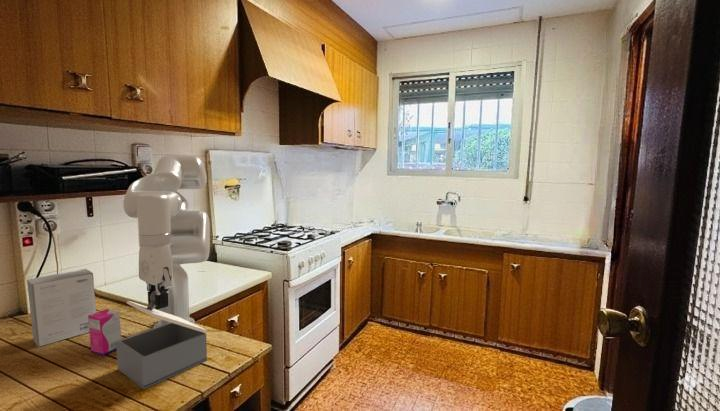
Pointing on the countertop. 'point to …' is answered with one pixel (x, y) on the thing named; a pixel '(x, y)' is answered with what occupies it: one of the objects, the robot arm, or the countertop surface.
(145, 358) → the grey storage box
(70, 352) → the countertop surface
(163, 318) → the flap
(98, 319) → the supplement box
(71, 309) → the hard drive box
